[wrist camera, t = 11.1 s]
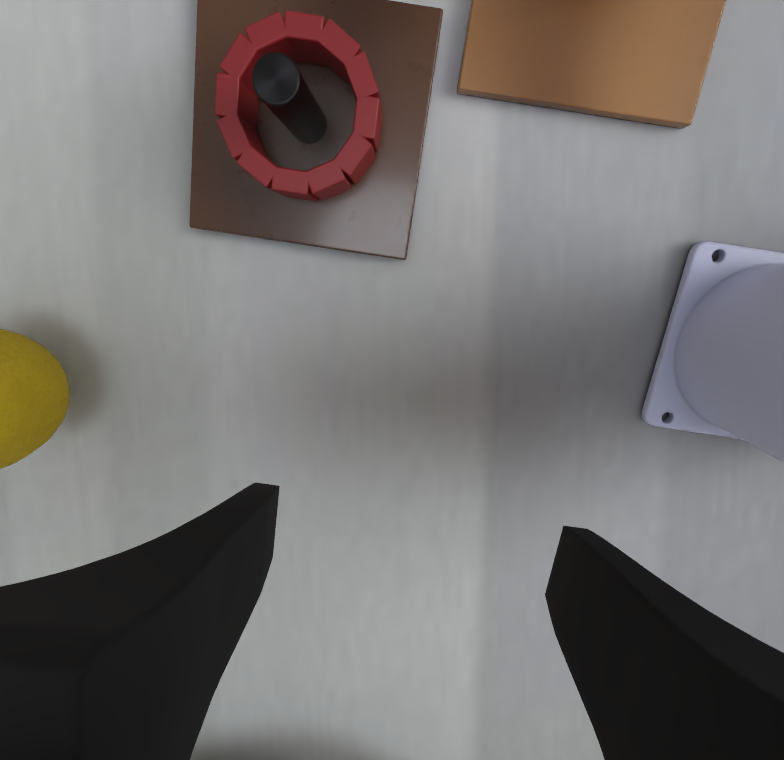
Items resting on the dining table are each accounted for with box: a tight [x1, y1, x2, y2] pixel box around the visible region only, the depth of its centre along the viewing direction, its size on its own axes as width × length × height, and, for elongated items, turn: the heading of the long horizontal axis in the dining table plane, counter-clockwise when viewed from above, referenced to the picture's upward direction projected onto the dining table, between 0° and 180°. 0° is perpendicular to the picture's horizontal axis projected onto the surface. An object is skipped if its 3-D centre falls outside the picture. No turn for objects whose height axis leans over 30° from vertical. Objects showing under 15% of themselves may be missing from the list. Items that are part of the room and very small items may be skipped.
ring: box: [215, 10, 382, 201], centre depth 17 cm, size 6×6×2 cm
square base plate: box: [190, 0, 443, 260], centre depth 16 cm, size 9×9×6 cm
